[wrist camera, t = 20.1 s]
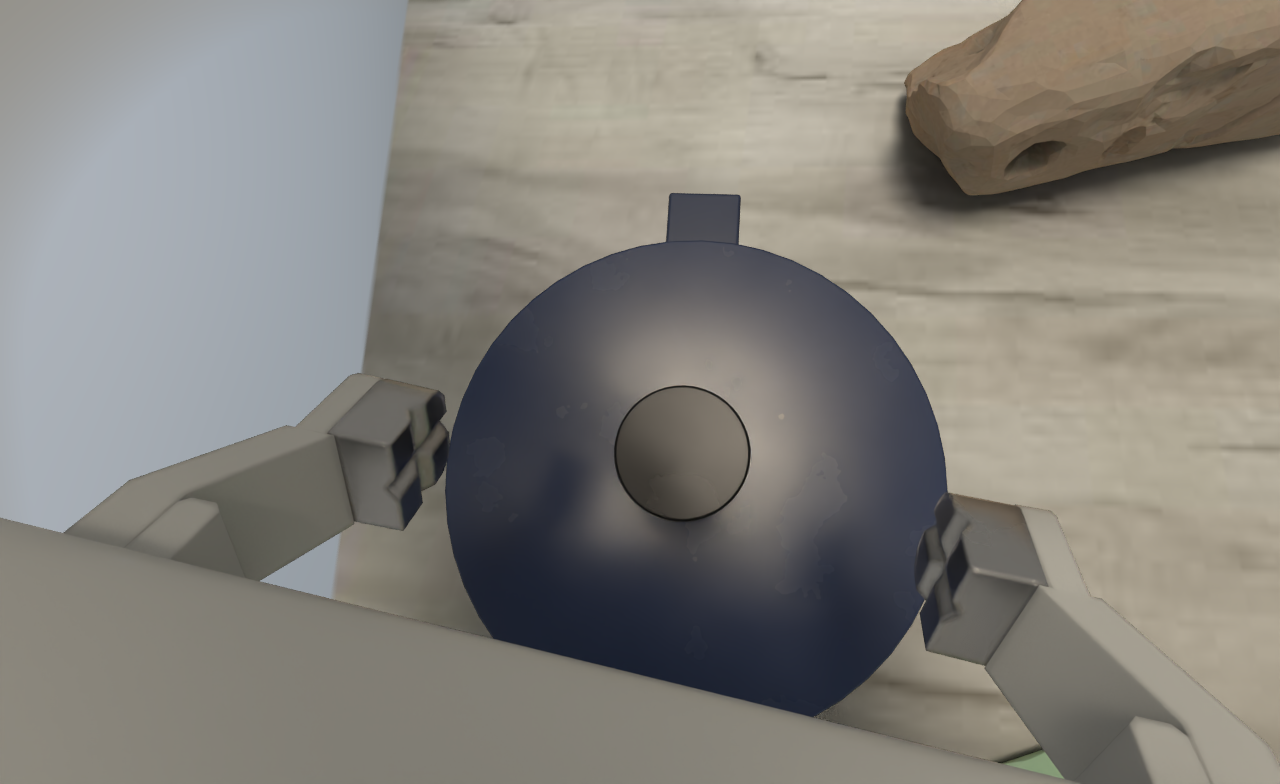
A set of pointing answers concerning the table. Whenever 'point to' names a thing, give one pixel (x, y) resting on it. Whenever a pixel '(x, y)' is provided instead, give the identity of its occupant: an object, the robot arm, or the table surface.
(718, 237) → the cooking pot
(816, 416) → the lid
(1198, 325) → the table surface
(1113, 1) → the decorative stone
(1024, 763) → the plant
